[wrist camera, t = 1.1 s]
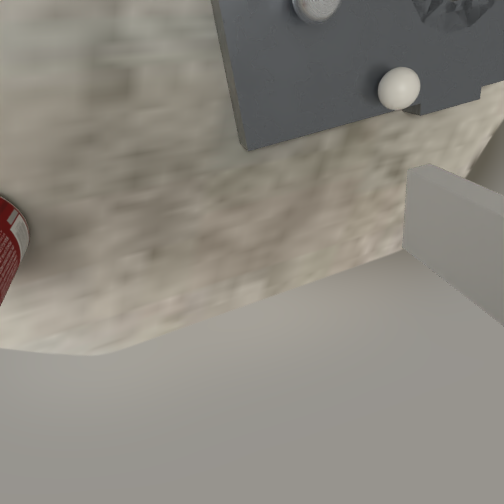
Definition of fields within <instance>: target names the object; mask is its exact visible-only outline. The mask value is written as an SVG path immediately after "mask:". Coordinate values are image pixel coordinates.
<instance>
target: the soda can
mask: <svg viewBox="0 0 504 504" xmlns="http://www.w3.org/2000/svg"><path fill="white" fill-rule="evenodd" d="M29 240H30V232H29V227H28V224H27V222H26V220H25V218H24V216H23V215H22V213H21V212H20V211H19V210H18V209H17V208H16V207H15V206H14V205H13V204H12V203H10V202H9V201H8V200H6V199H4V198H3V197H1V196H0V306H1V304H2V302H3V299H4V297H5V295H6V293H7V291H8V289H9V286H10V284H11V282H12V280H13V278H14V276H15V274H16V271H17V269H18V267H19V265H20V263H21V261H22V259H23V256H24V254H25V252H26V250H27V248H28V245H29Z"/></svg>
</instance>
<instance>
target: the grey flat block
mask: <svg viewBox="0 0 504 504" xmlns="http://www.w3.org/2000/svg"><path fill="white" fill-rule="evenodd" d="M211 4H212V8H213V13H214V18H215V23H216V28H217V33H218V38H219V43H220V48H221V52H222V57H223V62H224V67H225V72H226V77H227V82H228V87H229V92H230V97H231V101H232V106H233V111H234V116H235V121H236V126H237V131H238V136H239V141H240V144H241V145H242V146H243V147H244V148H245V149H246V150H247V151H250V150H254V149H258V148H261V147H265V146H268V145H272V144H276V143H279V142H283V141H287V140H290V139H294V138H297V137H301V136H305V135H308V134H312V133H315V132H319V131H323V130H326V129H330V128H334V127H337V126H341V125H344V124H348V123H352V122H355V121H359V120H362V119H366V118H370V117H373V116H377V115H381V114H384V113H388V112H391V111H395V110H391V109H388V108H386V107H385V106H384V105H383V104H382V103H381V102H380V100H379V97H378V86H379V83H380V81H381V79H382V77H383V76H384V75H385V74H386V73H387V72H388V71H390V70H392V69H394V68H397V67H407V68H410V69H412V70H413V71H414V72H415V73H416V74H417V75H418V77H419V80H420V91H419V94H418V96H417V98H416V100H415V101H414V102H413V103H412V104H411V105H410V106H408V107H406V108H404V109H402V111H405V112H409V113H412V114H416V115H420V116H421V115H424V114H428V113H431V112H435V111H439V110H442V109H446V108H449V107H453V106H456V105H460V104H463V103H467V102H471V101H474V100H478V99H480V93H481V87H482V86H485V85H489V84H493V83H496V82H500V81H503V80H504V0H342V3H341V5H340V8H339V10H338V11H337V13H336V14H335V15H334V16H333V17H332V18H331V19H330V20H329V21H327V22H325V23H323V24H319V25H312V24H308V23H306V22H304V21H303V20H301V19H300V18H299V17H298V15H297V14H296V12H295V10H294V7H293V3H292V0H211Z"/></svg>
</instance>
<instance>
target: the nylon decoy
mask: <svg viewBox="0 0 504 504" xmlns="http://www.w3.org/2000/svg"><path fill="white" fill-rule="evenodd" d="M419 91H420V80H419V77H418V75H417V74H416V73H415V72H414V71H413V70H412V69H410V68H407V67H397V68H394V69H392V70H390V71H388V72H387V73H386V74H385V75H384V76H383V77H382V79H381V81H380V83H379V86H378V97H379V100H380V102H381V103H382V104H383V105H384V106H385V107H386V108H388V109H391V110H401V109H404V108H406V107H408V106H410V105H411V104H412V103H413V102H414V101H415V100H416V98H417V96H418V94H419Z"/></svg>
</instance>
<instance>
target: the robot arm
mask: <svg viewBox="0 0 504 504" xmlns="http://www.w3.org/2000/svg"><path fill="white" fill-rule="evenodd" d="M402 248H404V249H405V250H406V251H407V252H409V253H410V254H411V255H413V256H414V257H415V258H416V259H418V260H419V261H420V262H422V263H423V264H424V265H425V266H427V267H428V268H429V269H431V270H432V271H433V272H434V273H436V274H437V275H438V276H440V277H441V278H442V279H443V280H445V281H446V282H447V283H449V284H450V285H451V286H452V287H454V288H455V289H456V290H458V291H459V292H460V293H461V294H463V295H464V296H465V297H467V298H468V299H469V300H471V301H472V302H473V303H474V304H476V305H477V306H478V307H479V308H481V309H482V310H483V311H485V312H486V313H487V314H488V315H490V316H491V317H492V318H494V319H495V320H496V321H497V322H499V323H500V324H501V325H503V326H504V195H501V194H499V193H497V192H494V191H492V190H490V189H487V188H485V187H483V186H481V185H478V184H476V183H474V182H471V181H469V180H467V179H465V178H462V177H460V176H458V175H455V174H453V173H451V172H448V171H446V170H444V169H441V168H439V167H437V166H435V165H432V164H426V165H423V166H419V167H415V168H412V169H408V170H407V184H406V199H405V214H404V229H403V243H402Z"/></svg>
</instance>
